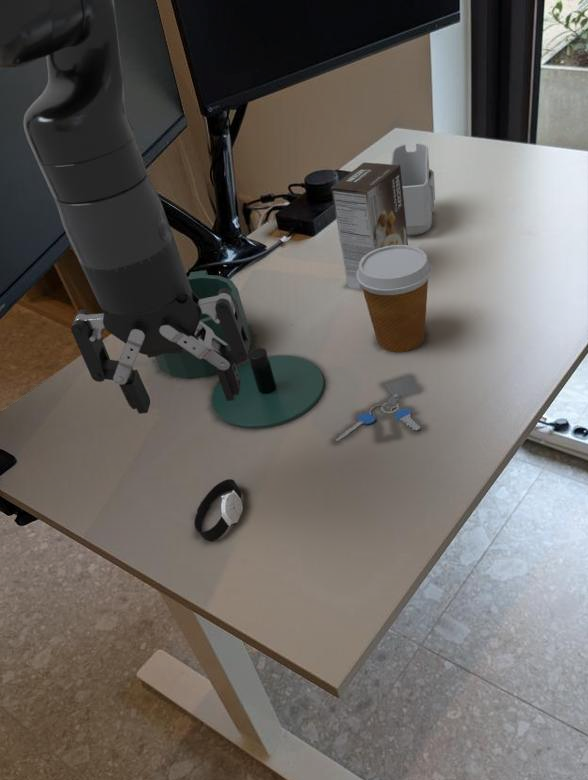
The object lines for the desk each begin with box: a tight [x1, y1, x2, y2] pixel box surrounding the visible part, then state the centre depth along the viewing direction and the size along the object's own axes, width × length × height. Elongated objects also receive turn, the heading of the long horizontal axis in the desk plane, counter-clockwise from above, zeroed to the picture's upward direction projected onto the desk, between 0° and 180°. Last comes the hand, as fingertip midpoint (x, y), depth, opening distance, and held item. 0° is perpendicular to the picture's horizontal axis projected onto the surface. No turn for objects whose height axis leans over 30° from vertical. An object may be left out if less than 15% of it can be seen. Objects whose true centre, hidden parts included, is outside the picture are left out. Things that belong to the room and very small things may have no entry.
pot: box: [155, 269, 253, 380], centre depth 95 cm, size 14×19×8 cm
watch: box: [193, 478, 244, 542], centre depth 73 cm, size 8×5×4 cm, turn 168°
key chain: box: [335, 377, 421, 442], centre depth 82 cm, size 14×8×1 cm, turn 147°
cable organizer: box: [390, 142, 436, 236], centre depth 113 cm, size 7×12×12 cm, turn 175°
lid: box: [211, 347, 325, 430], centre depth 86 cm, size 15×15×7 cm
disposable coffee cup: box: [356, 244, 432, 353], centre depth 89 cm, size 10×10×12 cm
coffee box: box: [330, 162, 409, 291], centre depth 100 cm, size 9×6×16 cm
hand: (188, 402), depth 65 cm, fingers open, 8 cm apart
